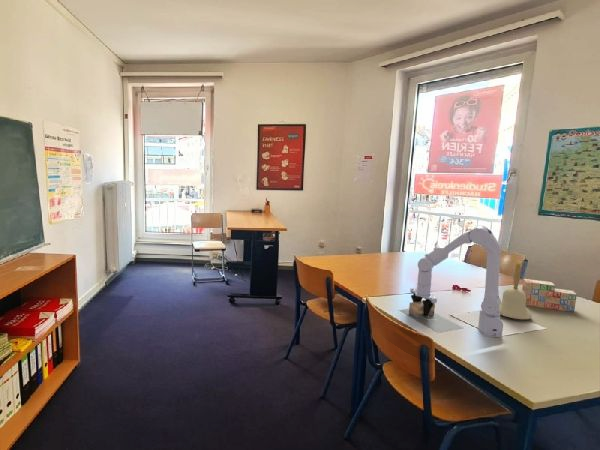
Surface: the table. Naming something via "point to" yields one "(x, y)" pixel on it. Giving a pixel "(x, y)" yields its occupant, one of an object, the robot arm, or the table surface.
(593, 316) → the table surface
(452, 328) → the slate board
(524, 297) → the handbell
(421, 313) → the felt eraser
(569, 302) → the stack of blocks
